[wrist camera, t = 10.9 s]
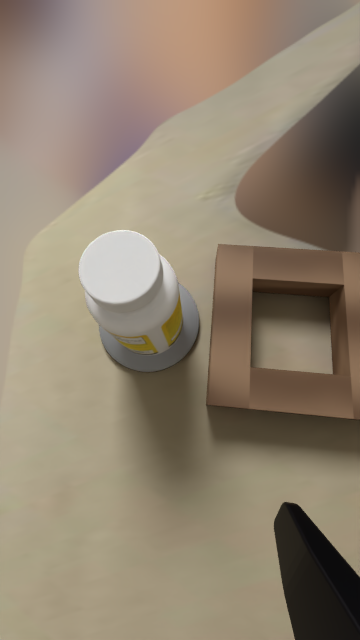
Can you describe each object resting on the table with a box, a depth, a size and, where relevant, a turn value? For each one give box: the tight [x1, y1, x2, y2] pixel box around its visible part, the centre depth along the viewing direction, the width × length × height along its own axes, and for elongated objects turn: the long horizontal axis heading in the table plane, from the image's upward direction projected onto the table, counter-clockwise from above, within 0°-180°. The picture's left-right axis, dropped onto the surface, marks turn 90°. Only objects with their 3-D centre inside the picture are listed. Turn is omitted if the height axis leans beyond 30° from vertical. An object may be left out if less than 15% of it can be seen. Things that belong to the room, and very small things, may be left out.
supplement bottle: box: [79, 230, 183, 356], centre depth 19 cm, size 5×5×10 cm
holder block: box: [206, 244, 360, 420], centre depth 22 cm, size 12×12×2 cm
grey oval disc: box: [99, 283, 199, 372], centre depth 23 cm, size 8×8×1 cm
